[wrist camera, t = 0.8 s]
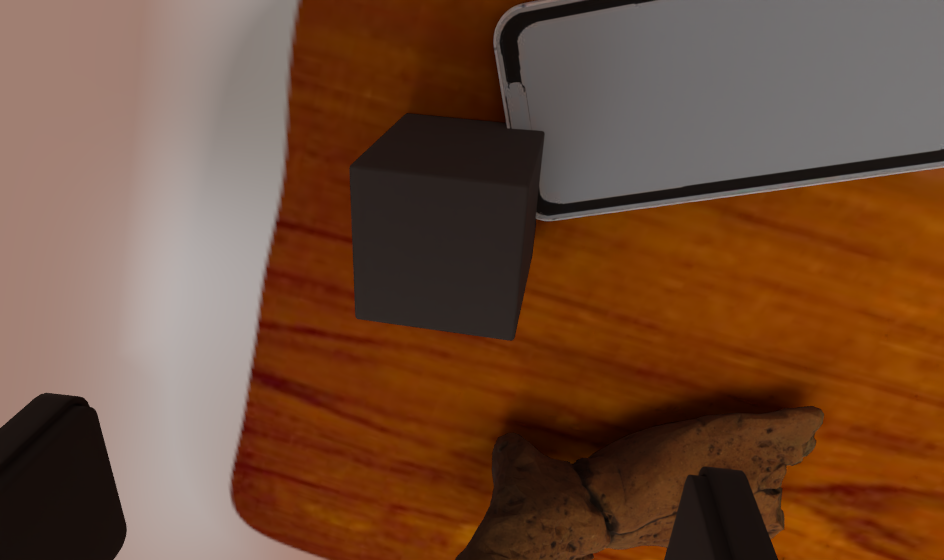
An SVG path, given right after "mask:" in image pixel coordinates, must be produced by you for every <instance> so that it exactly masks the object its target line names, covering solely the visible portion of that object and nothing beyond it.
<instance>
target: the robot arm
mask: <svg viewBox="0 0 944 560" xmlns="http://www.w3.org/2000/svg"><path fill="white" fill-rule="evenodd" d="M126 531H127V529H126V522H125V519H124V515H123V511H122V508H121V503H120V500H119V496H118V492H117V488H116V484H115V480H114V477H113V473H112V469H111V465H110V461H109V457H108V454H107V450H106V446H105V442H104V438H103V435H102V431H101V427H100V423H99V419H98V415H97V413H96V411H95V409H93V408H92V407H90V406H89V404H88V402H87V401H86V400H85V399H84V398H83V397H78V396H69V395H61V394H52V393H44V394H41V395H39V396H37V397H36V398H34V399H33V400H32V401H31V402H30V403H29V404H28V405H26V406H25V407H24V408H23V409H22V410H21V411H20V412H18V413H17V414H16V415H15V416H14V417H13V418H12V419H10V420H9V421H8V422H7V423H6V424H5V425H3V426H2V427H1V428H0V560H113V559H114V558H115V557H116V555H117V554H118V552H119V551H120V549H121V548H122V546H123V543H124V541H125V537H126ZM664 560H778V558H777V556H776V553H775V550H774V548H773V545H772V542H771V540H770V537H769V534H768V532H767V529H766V526H765V524H764V521H763V518H762V516H761V513H760V511H759V508H758V505H757V503H756V500H755V497H754V495H753V492H752V489H751V487H750V484H749V481H748V479H747V477H746V475H745V473H744V472H743V471H742V470H733V469H724V468H715V467H706V466H704V467H702V468H701V469H700V472H699V474H698V475H688V476H687V478H686V481H685V484H684V488H683V492H682V496H681V499H680V503H679V507H678V511H677V514H676V518H675V522H674V525H673V529H672V533H671V537H670V540H669V544H668V548H667V552H666V555H665V559H664Z"/></svg>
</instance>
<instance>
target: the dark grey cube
mask: <svg viewBox="0 0 944 560" xmlns="http://www.w3.org/2000/svg"><path fill="white" fill-rule="evenodd" d="M544 135H545V133H544V132H543V131H537V130H523V129H512V128H507V124H506V123H500V122H490V121H480V120H470V119H460V118H449V117H439V116H429V115H419V114H409V113H407V114H405V115H404V116H403V117H402V118H401V119H400V120H399V121H397V122H396V123H395V124H394V125H393V126H392V127H391V128H390V129H389V130H388V131H387V132H386V133H385V134H384V135H383V136H381V137H380V138H379V139H378V140H377V141H376V142H375V143H374V144H373V145H372V146H371V147H370V148H369V149H368V150H366V151H365V152H364V153H363V154H362V155H361V156H360V157H359V158H358V159H357V160H356V161H355V162H354V163H353V164H352V165H350V192H351V217H352V242H353V267H354V292H355V316H356V318H357V319H362V320H369V321H376V322H383V323H390V324H397V325H404V326H411V327H418V328H426V329H433V330H440V331H447V332H454V333H461V334H468V335H475V336H482V337H489V338H496V339H503V340H510V341H511V340H513V339H514V338H515V333H516V329H517V324H518V319H519V315H520V310H521V305H522V301H523V296H524V291H525V287H526V282H527V277H528V273H529V268H530V263H531V259H532V253H533V244H534V235H535V226H536V210H537V200H538V191H539V182H540V173H541V163H542V154H543V145H544Z"/></svg>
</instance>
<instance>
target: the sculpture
mask: <svg viewBox="0 0 944 560" xmlns="http://www.w3.org/2000/svg"><path fill="white" fill-rule="evenodd" d="M823 418H824V413H823V412H822V410H821V409H819V408H816V407H814V406H807V407H797V408H783V409H780V410H778V411H775V412H769V413H761V414H752V413H727V414H718V415H705V416H702V417H699V418H696V419H691V420H685V421H681V422H676V423H670V424H664V425H659V426H654V427H651V428H648V429H645V430H642V431H639V432H636V433H633V434H630V435H628V436H625V437H623V438H621V439H619V440H617V441H615V442H613V443H611V444H609V445H608V446H606V447H604V448H603V449H601V450H599V451H598V452H596V453H594V454H593V455H591V456H590V457H589V458H581V459H579V460H577V461H576V462H575V463H574V464H571V463H570V462H568V461H561V460H556V459H551V458H549V457H547V456H545V455H544V454H542V453H541V452H539V451H538V450H537V449H536V448H535V447H534V446H533V445H532V444H531V443H530V442H528V441H527V440H526V439H524V438H523V437H522V436H520V435H519V434H516V433H508V434H505V435H503V436H501V437H499V438H498V439H497V441H496V443H495V445H494V449H493V453H492V476H493V483H494V490H493V495H492V500H491V503H490V507H489V509H488V511H487V512H486V515H485V517H484V519H483V521H482V522H481V524H480V525H479V527H478V528H477V530H476V532H475V534H474V535H473V537H472V539H471V540H470V542H469V544H468V545H467V547H466V548H465V549H464V550H463V551H462V552H461V553H460V554H459V555H458V556H457V557H456V559H455V560H592V559H593V558H594V556H593V553H597V552H599V551H601V550H603V549H604V548H612V549H628V548H633V547H637V546H642V545H645V546H662V547H666V548H668V544H669V540H670V537H671V533H672V529H673V525H674V522H675V518H676V514H677V511H678V507H679V503H680V499H681V496H682V492H683V488H684V484H685V481H686V478H687V476H688V475H698V474H699V472H700V469H701V468H702V467H704V466H706V467H715V468H724V469H733V470H742V471H743V472H744V473H745V475H746V477H747V479H748V481H749V484H750V487H751V489H752V492H753V495H754V497H755V500H756V503H757V505H758V508H759V511H760V513H761V516H762V518H763V521H764V524H765V526H766V529H767V532H768V534H769V537H770V539H772V538H773V537H774V536H775V535H776V534H778V533H779V532H780V531H782V530H783V529H784V513H783V511H782V510H781V495H782V488H781V484H782V480H783V478H784V476H785V474H786V465H791V466H793V465H795V464H798V463H800V462H801V461H802V460H803V457H804V456H807V455H808V454H809V453H810V452H811V451H813V449H814V447H815V445H816V440H815V439H814V435H815V432H816V431H817V430H818V429H819V427H820V426H821V425H822V423H823Z"/></svg>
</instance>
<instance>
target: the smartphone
mask: <svg viewBox="0 0 944 560" xmlns="http://www.w3.org/2000/svg"><path fill="white" fill-rule="evenodd" d="M493 44H494V52H495V58H496V64H497V70H498V76H499V82H500V88H501V94H502V100H503V106H504V112H505V118H506V124H507V128H512V129H523V130H537V131H543V132H544V133H545V135H544V145H543V154H542V163H541V173H540V182H539V191H538V200H537V210H536V219H538V220H542V221H556V220H563V219H570V218H578V217H585V216H592V215H600V214H607V213H614V212H622V211H629V210H636V209H644V208H651V207H658V206H666V205H673V204H680V203H688V202H695V201H702V200H710V199H717V198H724V197H732V196H739V195H746V194H754V193H761V192H768V191H776V190H783V189H790V188H798V187H805V186H812V185H820V184H827V183H834V182H841V181H849V180H856V179H863V178H871V177H878V176H885V175H893V174H900V173H907V172H915V171H922V170H929V169H937V168H944V0H537V1H532V2H527V3H522V4H519V5H516V6H514V7H512V8H510V9H509V10H508V11H506V13H505V14H504V15H503V16H502V17H501V19H500V20H499V22H498V24H497V26H496V28H495V32H494V39H493Z"/></svg>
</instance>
